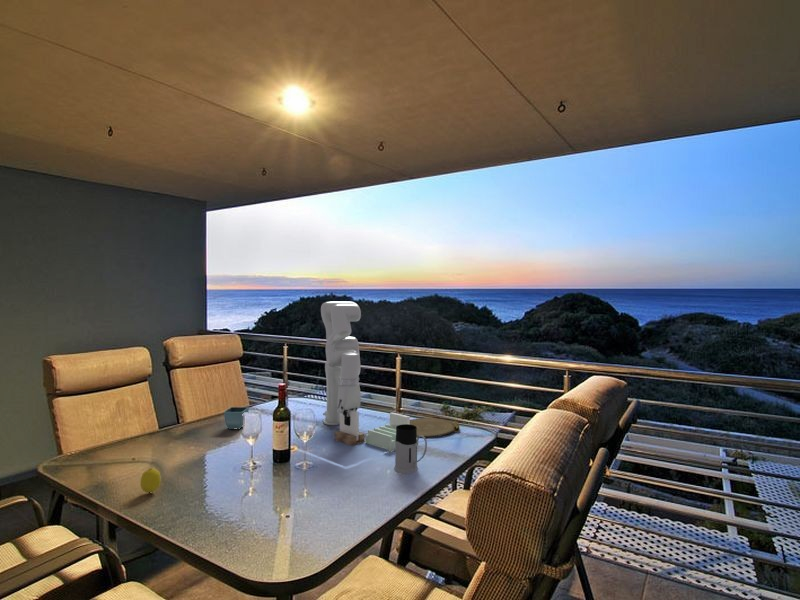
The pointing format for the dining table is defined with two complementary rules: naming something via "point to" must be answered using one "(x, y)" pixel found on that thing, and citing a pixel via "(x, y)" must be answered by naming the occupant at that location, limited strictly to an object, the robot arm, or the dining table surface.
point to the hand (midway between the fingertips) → (349, 424)
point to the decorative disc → (434, 427)
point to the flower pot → (234, 417)
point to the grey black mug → (407, 449)
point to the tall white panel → (354, 424)
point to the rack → (387, 432)
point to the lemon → (150, 480)
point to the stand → (349, 438)
